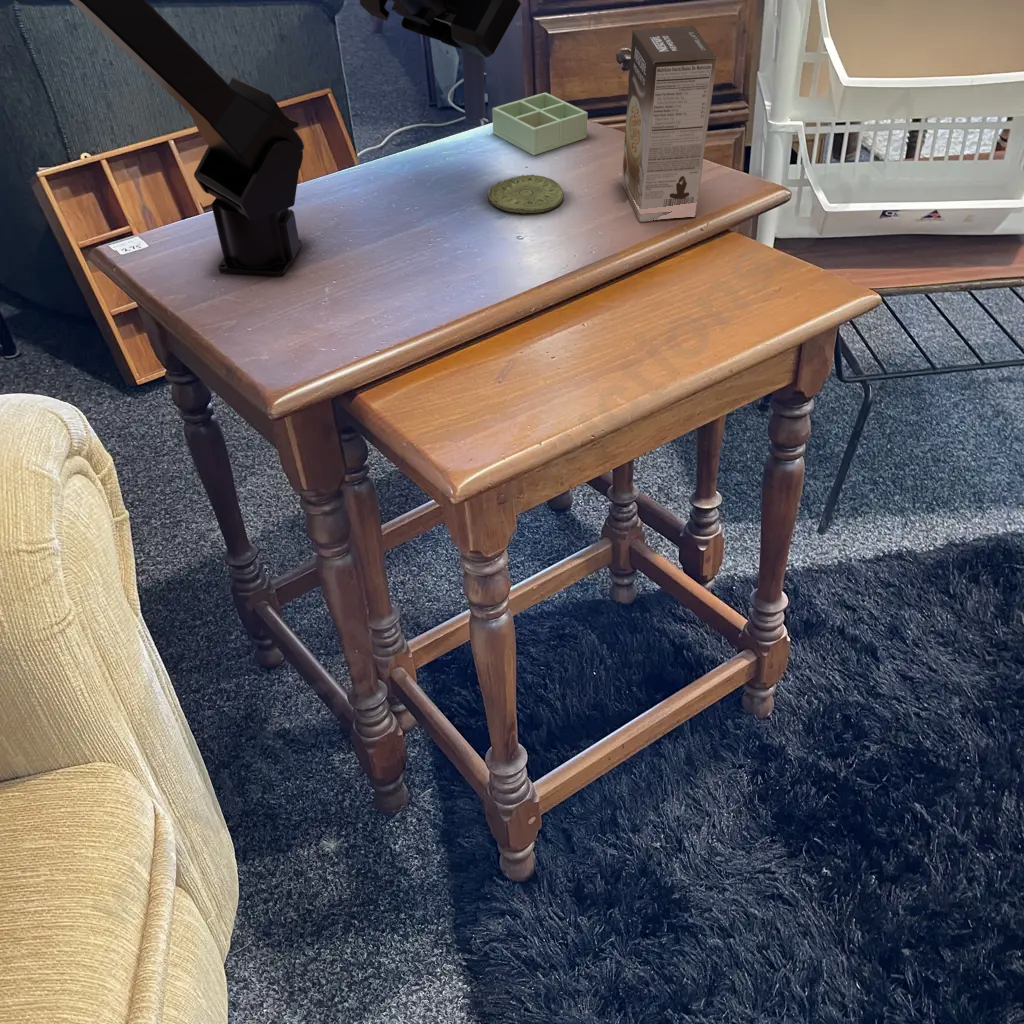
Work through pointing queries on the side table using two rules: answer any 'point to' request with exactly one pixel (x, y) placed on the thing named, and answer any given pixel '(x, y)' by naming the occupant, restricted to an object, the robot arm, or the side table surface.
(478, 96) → the tall navy cylinder rod
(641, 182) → the coffee box
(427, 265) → the side table surface
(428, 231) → the side table surface
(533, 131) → the grid
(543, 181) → the medallion
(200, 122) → the robot arm
